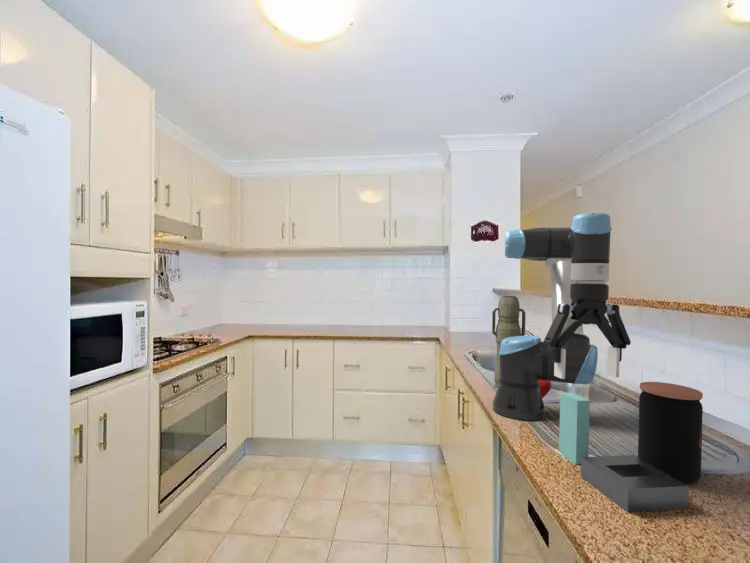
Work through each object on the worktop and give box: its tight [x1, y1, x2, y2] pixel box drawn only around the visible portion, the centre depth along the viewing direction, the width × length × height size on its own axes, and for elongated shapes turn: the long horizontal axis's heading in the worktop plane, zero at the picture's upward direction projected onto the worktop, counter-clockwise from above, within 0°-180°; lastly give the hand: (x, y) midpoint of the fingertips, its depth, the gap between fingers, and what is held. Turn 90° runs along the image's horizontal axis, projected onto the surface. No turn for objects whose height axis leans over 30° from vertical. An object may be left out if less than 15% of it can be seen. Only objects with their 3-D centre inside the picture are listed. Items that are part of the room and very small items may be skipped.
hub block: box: [580, 454, 689, 513], centre depth 72 cm, size 12×12×4 cm
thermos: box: [491, 295, 526, 389], centre depth 142 cm, size 9×12×35 cm
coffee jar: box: [637, 381, 704, 485], centre depth 80 cm, size 11×11×18 cm
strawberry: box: [539, 380, 552, 400], centre depth 130 cm, size 6×8×10 cm
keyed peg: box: [558, 392, 591, 465], centre depth 86 cm, size 6×3×14 cm, turn 8°
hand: (586, 376), depth 85 cm, fingers open, 13 cm apart
